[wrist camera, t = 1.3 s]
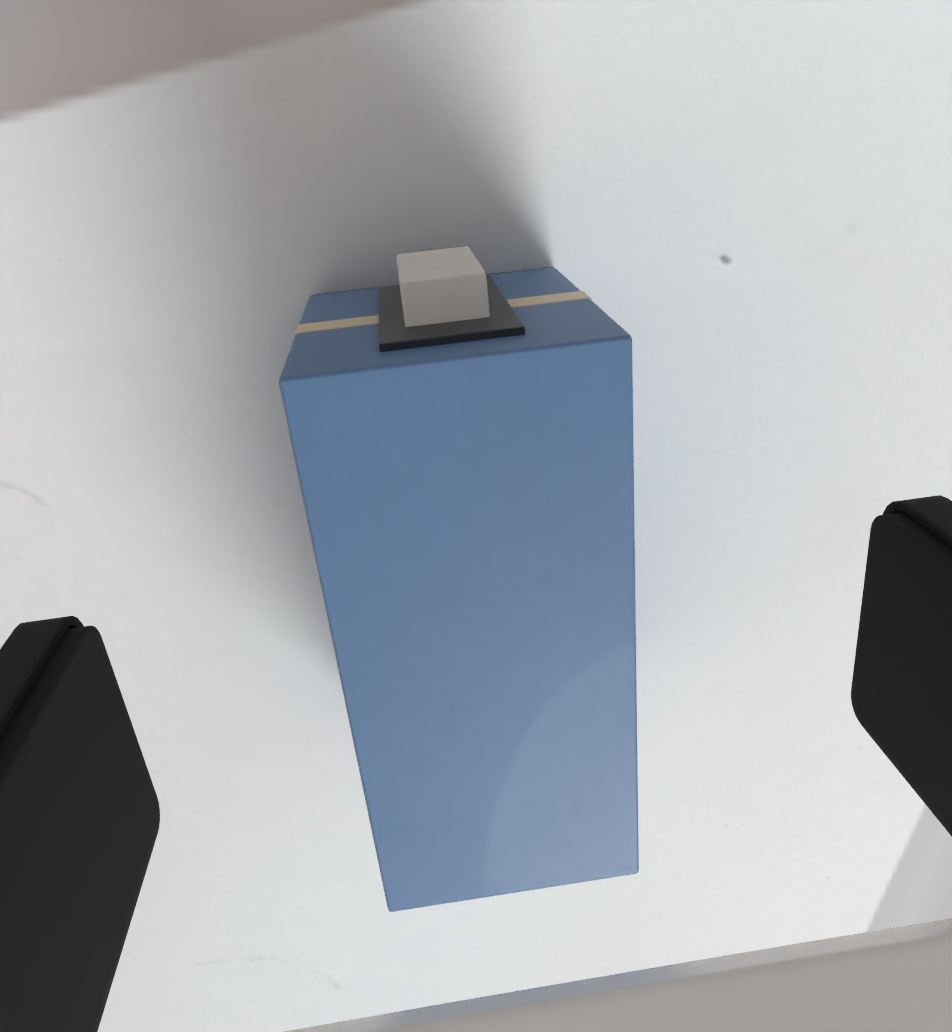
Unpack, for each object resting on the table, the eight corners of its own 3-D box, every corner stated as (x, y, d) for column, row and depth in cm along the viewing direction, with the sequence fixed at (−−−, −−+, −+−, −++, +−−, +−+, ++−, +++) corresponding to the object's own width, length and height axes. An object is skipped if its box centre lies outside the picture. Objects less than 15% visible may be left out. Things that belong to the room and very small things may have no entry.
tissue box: (300, 251, 20) (263, 318, 13) (553, 223, 20) (633, 274, 14) (385, 719, 26) (387, 914, 20) (577, 692, 26) (640, 875, 20)
